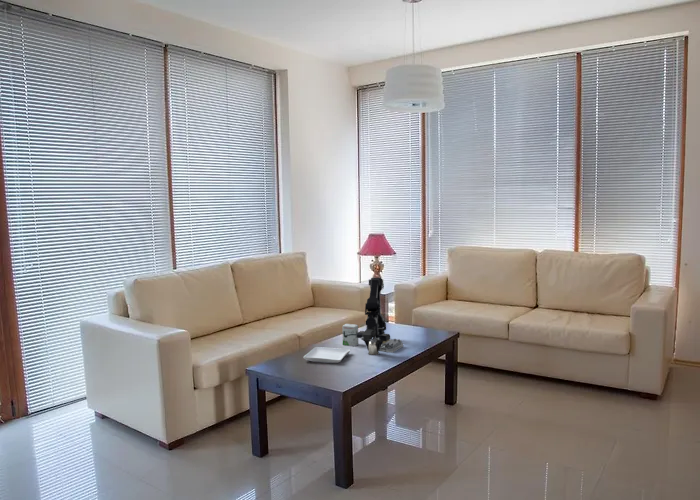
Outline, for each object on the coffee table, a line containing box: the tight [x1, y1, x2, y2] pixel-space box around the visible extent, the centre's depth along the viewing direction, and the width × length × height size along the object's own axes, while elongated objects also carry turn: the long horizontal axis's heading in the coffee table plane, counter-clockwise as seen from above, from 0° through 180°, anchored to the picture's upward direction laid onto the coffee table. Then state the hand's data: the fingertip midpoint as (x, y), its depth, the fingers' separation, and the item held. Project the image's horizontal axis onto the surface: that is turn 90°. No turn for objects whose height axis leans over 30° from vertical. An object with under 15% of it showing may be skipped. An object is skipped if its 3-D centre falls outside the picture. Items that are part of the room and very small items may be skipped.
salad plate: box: [302, 346, 352, 364], centre depth 296 cm, size 21×21×3 cm
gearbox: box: [376, 338, 404, 354], centre depth 312 cm, size 16×14×5 cm
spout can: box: [367, 337, 379, 356], centre depth 301 cm, size 6×6×8 cm
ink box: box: [341, 323, 359, 347], centre depth 321 cm, size 9×5×12 cm, turn 68°
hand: (373, 351), depth 302 cm, fingers closed on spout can, 5 cm apart
